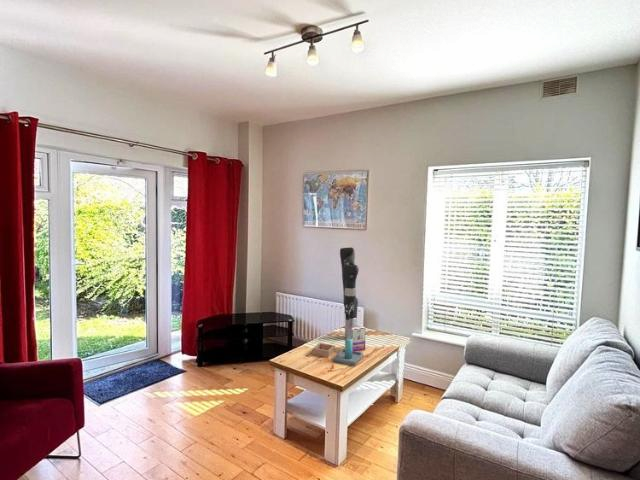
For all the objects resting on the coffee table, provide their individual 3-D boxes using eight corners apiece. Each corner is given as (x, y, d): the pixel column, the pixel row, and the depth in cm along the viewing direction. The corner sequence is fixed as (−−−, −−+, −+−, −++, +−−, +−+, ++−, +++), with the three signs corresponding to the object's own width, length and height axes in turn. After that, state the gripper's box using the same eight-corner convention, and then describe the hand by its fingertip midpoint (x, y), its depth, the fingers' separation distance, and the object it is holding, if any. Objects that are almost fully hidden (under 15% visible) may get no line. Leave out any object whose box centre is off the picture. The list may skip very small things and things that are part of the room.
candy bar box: (362, 347, 253) (362, 325, 252) (365, 349, 249) (366, 327, 248) (348, 349, 249) (349, 327, 248) (351, 351, 244) (352, 329, 244)
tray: (342, 352, 243) (342, 349, 243) (362, 356, 237) (363, 352, 237) (333, 361, 226) (333, 358, 226) (354, 365, 220) (355, 362, 220)
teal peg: (346, 355, 235) (346, 338, 234) (353, 356, 233) (353, 339, 232) (343, 358, 230) (344, 340, 230) (350, 359, 228) (351, 341, 228)
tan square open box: (319, 348, 249) (319, 342, 249) (334, 351, 244) (335, 345, 244) (312, 354, 238) (312, 348, 238) (328, 357, 233) (328, 351, 233)
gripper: (348, 291, 237) (347, 314, 238) (341, 295, 224) (340, 320, 225) (358, 293, 234) (358, 316, 235) (352, 297, 221) (351, 321, 222)
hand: (349, 318), depth 230 cm, fingers open, 8 cm apart
